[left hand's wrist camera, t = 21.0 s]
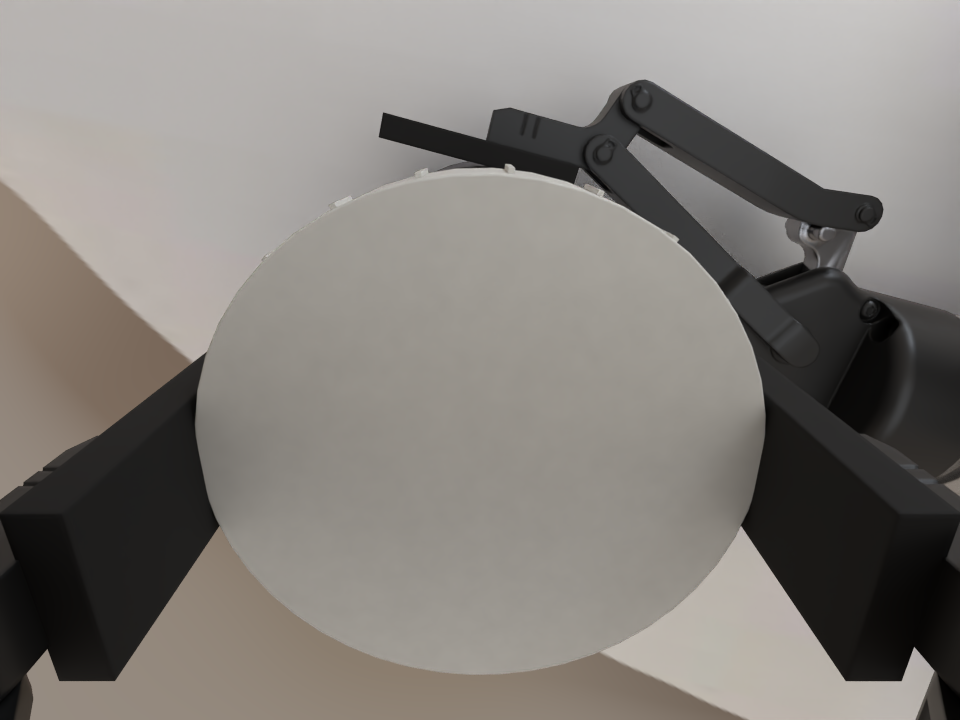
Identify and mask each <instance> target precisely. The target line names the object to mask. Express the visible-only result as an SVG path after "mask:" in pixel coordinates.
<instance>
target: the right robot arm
mask: <svg viewBox="0 0 960 720" xmlns="http://www.w3.org/2000/svg"><path fill="white" fill-rule="evenodd" d="M636 134H637V135H638V136H640V137H642V138H643V139H645V140H647V141H648V142H650V143H652V144H653V145H655V146H657V147H658V148H660V149H662V150H663V151H665V152H667V153H668V154H670V155H672V156H673V157H675V158H677V159H678V160H680V161H682V162H683V163H685V164H687V165H688V166H690V167H692V168H693V169H695V170H697V171H698V172H700V173H702V174H703V175H705V176H707V177H708V178H710V179H712V180H713V181H715V182H717V183H718V184H720V185H722V186H723V187H725V188H727V189H728V190H730V191H732V192H733V193H735V194H737V195H738V196H740V197H742V198H743V199H745V200H747V201H748V202H750V203H752V204H753V205H755V206H757V207H759V208H761V209H763V210H765V211H766V212H769V213H772V214H775V215H778V216H781V217H785V218H789V219H788V220H787V221H786V223H785V228H786V233H787V236H788V238H789V239H790V240H791V241H793V242H795V243H797V244H799V245H800V246H801V247H802V248H803V250H804V254H805V258H804V262H801V263H798V264H795V265H792V266H789V267H787V268H784V269H781V270H779V271H776V272H773V273H770V274H768V275H765V276H762V277H759V278H757V279H755V278H754V277H753V276H752V275H751V274H750V273H749V272H748V271H747V270H745V269H744V268H743V267H741V266H740V265H739V264H738V263H737V262H736V261H735V260H734V259H733V258H732V257H731V256H730V255H729V254H728V253H727V252H726V251H725V250H724V249H723V248H722V247H721V246H720V245H719V244H718V243H717V242H716V241H715V240H714V239H713V238H712V237H711V236H710V235H709V233H708V232H707V231H706V230H705V229H704V228H703V227H702V226H701V225H700V224H699V223H698V222H697V221H696V220H695V219H694V218H693V217H692V216H691V215H690V214H689V213H688V212H687V211H686V210H685V209H684V208H683V207H682V206H681V205H680V204H679V203H678V202H677V201H676V199H675V198H674V197H673V196H672V195H671V194H670V193H669V192H668V191H667V190H666V189H665V188H664V187H663V186H662V185H661V184H660V183H659V182H658V181H657V180H656V179H655V178H654V177H653V176H652V175H651V174H650V173H649V172H648V171H647V170H646V169H645V168H644V166H643V165H642V164H641V163H640V162H639V161H638V160H637V159H636V158H635V157H634V156H633V155H632V154H631V153H630V152H629V151H628V150H627V149H626V148H627V146H628V145H629V144H630V142H631V141H632V139H633V138H634V137H635V135H636ZM379 137H380V138H384V139H387V140H391V141H395V142H399V143H402V144H406V145H410V146H413V147H417V148H421V149H425V150H428V151H432V152H436V153H440V154H443V155H447V156H451V157H454V158H458V159H462V160H466V161H469V162H473V163H477V164H481V165H484V166H488V167H492V168H500V169H505V164H511V165H512V166H514V167H515V170H516V171H525V172H532V173H536V174H540V175H543V176H547V177H551V178H555V179H559V180H562V181H566V182H569V183H571V184H574V182H575V179H576V175H577V172H578V169H579V167H580V168H582V169H583V170H584V171H585V172H586V173H587V174H588V175H589V176H590V177H591V178H592V179H593V180H594V181H595V182H596V183H597V184H598V185H599V186H600V187H601V188H602V189H603V190H604V191H605V192H606V193H607V194H608V195H609V196H610V197H611V198H612V199H613V200H614V201H615V202H616V203H617V204H619V205H622V206H624V207H625V208H627V209H629V210H630V211H632V212H634V213H635V214H637V215H639V216H640V217H642V218H644V219H645V220H647V221H649V222H650V223H652V224H654V225H655V226H657V227H659V228H660V229H662V230H664V231H666V232H668V233H670V234H672V235H675V236H676V237H677V238H678V239H679V240H678V242H677V243H678V244H679V245H681V246H682V247H683V248H684V249H685V250H687V251H688V252H689V253H690V254H691V255H692V256H693V257H694V258H695V259H696V260H697V261H698V263H699V264H700V265H701V266H702V267H703V268H704V269H705V270H706V271H707V273H708V274H709V275H710V276H711V277H712V278H713V279H714V280H715V281H716V283H717V284H718V286H719V287H720V289H721V290H722V292H723V293H724V295H725V296H726V298H727V299H728V300H729V302H730V304H731V305H732V307H733V308H734V310H735V311H736V313H737V315H738V317H739V319H740V321H741V323H742V326H743V328H744V330H745V332H746V334H747V337H748V339H749V341H750V343H751V345H752V348H753V352H755V353H756V354H757V355H758V356H760V357H761V358H762V359H764V360H765V361H766V362H767V363H769V364H770V365H771V366H773V367H774V368H775V369H776V370H778V371H779V372H780V373H782V374H783V375H784V376H785V377H787V378H788V379H789V380H791V381H792V382H793V383H794V384H796V385H797V386H798V387H800V388H801V389H802V390H803V391H805V392H806V393H807V394H809V395H810V396H811V397H812V398H814V399H815V400H816V401H818V402H819V403H820V404H821V405H823V406H824V407H825V408H827V409H828V410H829V411H830V412H832V413H833V414H834V415H836V416H837V417H838V418H839V419H841V420H842V421H843V422H845V423H846V424H847V425H848V426H850V427H851V428H852V429H854V430H855V431H856V432H857V433H859V434H866V435H868V436H870V437H872V438H874V439H876V440H878V441H881V442H883V443H885V444H887V445H889V446H891V447H893V448H895V449H897V450H898V451H900V452H901V453H902V454H904V455H905V456H906V457H908V458H909V459H910V460H912V461H913V462H914V463H916V464H917V465H918V466H919V469H924V470H925V471H926V472H928V473H929V474H930V475H932V476H933V477H934V478H936V479H937V480H938V484H944V485H945V486H947V487H948V488H949V489H951V490H952V491H953V492H955V493H956V494H957V495H959V496H960V315H953V314H951V313H949V312H947V311H944V310H941V309H937V308H933V307H930V306H926V305H922V304H918V303H915V302H911V301H907V300H903V299H900V298H896V297H892V296H888V295H884V294H881V293H877V292H873V291H869V290H866V289H862V288H859V287H857V286H856V285H855V284H854V283H853V282H852V281H851V279H850V278H849V277H848V276H847V275H846V274H845V273H844V272H842V271H843V268H844V265H845V262H846V260H847V257H848V254H849V252H850V249H851V246H852V244H853V241H854V238H855V236H856V233H857V232H865V231H868V230H870V229H872V228H873V227H874V226H876V225H877V224H878V222H879V221H880V219H881V217H882V214H883V206H882V203H881V201H880V200H879V199H878V198H876V197H873V196H869V195H863V194H856V193H849V192H842V191H836V190H829V189H823V188H822V187H820V186H819V185H817V184H815V183H814V182H812V181H811V180H809V179H807V178H806V177H804V176H802V175H801V174H799V173H798V172H796V171H794V170H793V169H791V168H790V167H788V166H786V165H785V164H783V163H782V162H780V161H778V160H777V159H775V158H774V157H772V156H770V155H769V154H767V153H766V152H764V151H762V150H761V149H759V148H757V147H756V146H754V145H753V144H751V143H749V142H748V141H746V140H745V139H743V138H741V137H740V136H738V135H737V134H735V133H733V132H732V131H730V130H729V129H727V128H725V127H724V126H722V125H720V124H719V123H717V122H716V121H714V120H712V119H711V118H709V117H708V116H706V115H704V114H703V113H701V112H700V111H698V110H696V109H695V108H693V107H692V106H690V105H688V104H687V103H685V102H684V101H682V100H680V99H679V98H677V97H675V96H674V95H672V94H671V93H669V92H667V91H666V90H664V89H663V88H661V87H659V86H658V85H656V84H655V83H653V82H651V81H648V80H638V81H635V82H633V83H630V84H627V85H625V86H622V87H620V88H618V89H616V90H614V91H613V93H612V94H611V95H610V96H609V99H608V102H607V104H606V105H605V107H604V108H603V109H602V111H601V112H600V114H599V115H598V117H597V118H596V119H595V120H594V121H593V122H592V123H591V124H590V125H588V126H586V127H577V126H574V125H570V124H567V123H563V122H559V121H556V120H552V119H549V118H545V117H542V116H538V115H534V114H531V113H527V112H524V111H520V110H516V109H513V108H505V109H498V110H494V111H493V113H492V118H491V122H490V126H489V130H488V134H487V138H486V140H482V139H479V138H475V137H471V136H468V135H464V134H460V133H457V132H453V131H449V130H446V129H442V128H438V127H435V126H431V125H427V124H424V123H420V122H416V121H413V120H409V119H405V118H402V117H398V116H394V115H391V114H387V113H383V116H382V122H381V128H380V133H379Z"/></svg>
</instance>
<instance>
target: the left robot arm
mask: <svg viewBox="0 0 960 720" xmlns="http://www.w3.org/2000/svg"><path fill="white" fill-rule="evenodd" d="M206 353H207V352H206ZM206 353H205V354H204V355H202V356H201V357H200V358H198V359H197V360H196V361H195V362H193V363H192V364H191V365H189V366H188V367H187V368H186V369H184V370H183V371H182V372H180V373H179V374H178V375H177V376H175V377H174V378H173V379H171V380H170V381H169V382H168V383H166V384H165V385H164V386H162V387H161V388H160V389H159V390H157V391H156V392H155V393H153V394H152V395H151V396H150V397H148V398H147V399H146V400H144V401H143V402H142V403H141V404H139V405H138V406H137V407H135V408H134V409H133V410H132V411H130V412H129V413H128V414H126V415H125V416H124V417H123V418H121V419H120V420H119V421H117V422H116V423H115V424H114V425H112V426H111V427H110V428H108V429H107V430H106V431H105V432H103V433H102V434H101V435H99V436H96V437H94V438H91V439H89V440H87V441H85V442H83V443H81V444H79V445H77V446H74V447H72V448H70V449H68V450H66V451H65V452H63V453H62V454H61V455H59V456H58V457H57V458H55V459H54V460H53V461H51V462H50V463H49V464H47V465H46V466H45V467H43V471H38V472H37V473H35V474H34V475H33V476H31V477H30V478H29V479H27V480H26V481H25V482H24V485H23V486H18V487H17V488H15V489H14V490H13V491H11V492H10V493H9V494H7V495H6V496H5V497H4V498H2V499H1V500H0V720H30V714H31V709H32V703H33V694H32V688H31V684H30V682H29V679H28V677H27V674H26V673H27V672H28V671H29V670H30V669H31V667H32V666H33V665H34V664H35V663H36V662H37V660H38V659H39V658H40V657H41V656H42V655H43V653H44V652H45V651H46V650H47V649H48V651H49V654H50V657H51V660H52V662H53V665H54V668H55V670H56V673H57V676H58V679H59V681H115V680H116V679H117V677H118V676H119V674H120V673H121V671H122V670H123V668H124V667H125V665H126V664H127V662H128V661H129V659H130V658H131V656H132V655H133V653H134V652H135V650H136V649H137V647H138V646H139V644H140V643H141V641H142V640H143V638H144V637H145V635H146V634H147V633H148V631H149V630H150V628H151V627H152V625H153V624H154V622H155V621H156V619H157V618H158V616H159V615H160V613H161V612H162V610H163V609H164V607H165V606H166V604H167V603H168V601H169V600H170V598H171V597H172V595H173V594H174V592H175V591H176V590H177V588H178V587H179V585H180V584H181V582H182V581H183V579H184V578H185V576H186V575H187V573H188V572H189V570H190V569H191V567H192V566H193V564H194V563H195V561H196V560H197V558H198V557H199V555H200V554H201V552H202V551H203V549H204V548H205V546H206V545H207V544H208V542H209V541H210V539H211V538H212V536H213V535H214V533H215V532H216V530H217V529H218V527H219V526H220V525H219V523H218V522H217V520H216V518H215V515H214V512H213V510H212V507H211V504H210V502H209V498H208V494H207V490H206V485H205V480H204V475H203V470H202V465H201V460H200V456H199V451H198V445H197V439H196V433H195V416H196V403H197V390H198V386H199V381H200V377H201V373H202V369H203V364H204V360H205V356H206ZM754 355H755V359H756V362H757V366H758V369H759V373H760V377H761V380H762V388H763V397H764V405H765V413H766V421H765V438H764V444H763V450H762V455H761V459H760V464H759V469H758V474H757V479H756V484H755V489H754V493H753V497H752V501H751V504H750V507H749V510H748V512H747V514H746V516H745V518H744V520H743V522H742V524H741V526H742V528H743V529H744V531H745V532H746V534H747V535H748V537H749V538H750V540H751V541H752V543H753V544H754V546H755V547H756V549H757V550H758V551H759V553H760V554H761V556H762V557H763V559H764V560H765V562H766V563H767V565H768V566H769V568H770V569H771V571H772V572H773V574H774V575H775V577H776V578H777V580H778V581H779V583H780V584H781V586H782V587H783V589H784V590H785V592H786V593H787V594H788V596H789V597H790V599H791V600H792V602H793V603H794V605H795V606H796V608H797V609H798V611H799V612H800V614H801V615H802V617H803V618H804V620H805V621H806V623H807V624H808V626H809V627H810V629H811V630H812V632H813V633H814V635H815V636H816V637H817V639H818V640H819V642H820V643H821V645H822V646H823V648H824V649H825V651H826V652H827V654H828V655H829V657H830V658H831V660H832V661H833V663H834V664H835V666H836V667H837V669H838V670H839V672H840V673H841V675H842V676H843V678H844V679H845V681H902V678H903V676H904V673H905V670H906V667H907V665H908V662H909V659H910V656H911V654H912V651H913V648H914V647H915V648H916V649H917V650H918V652H919V653H920V654H921V655H922V656H923V657H924V659H925V660H926V661H927V662H928V663H929V664H930V666H931V667H932V668H933V669H934V670H935V672H934V674H933V677H932V679H931V682H930V684H929V687H928V689H927V692H926V695H925V697H924V700H923V702H922V705H921V707H920V710H919V712H918V715H917V718H916V720H960V496H959V495H957V494H956V493H955V492H953V491H952V490H951V489H949V488H948V487H947V486H945V485H944V484H938V480H937V479H936V478H934V477H933V476H932V475H930V474H929V473H928V472H926V471H925V470H924V469H919V466H918V465H917V464H916V463H914V462H913V461H912V460H910V459H909V458H908V457H906V456H905V455H904V454H902V453H901V452H900V451H898V450H897V449H895V448H893V447H891V446H889V445H887V444H885V443H883V442H881V441H878V440H876V439H874V438H872V437H870V436H868V435H866V434H859V433H857V432H856V431H855V430H854V429H852V428H851V427H850V426H848V425H847V424H846V423H845V422H843V421H842V420H841V419H839V418H838V417H837V416H836V415H834V414H833V413H832V412H830V411H829V410H828V409H827V408H825V407H824V406H823V405H821V404H820V403H819V402H818V401H816V400H815V399H814V398H812V397H811V396H810V395H809V394H807V393H806V392H805V391H803V390H802V389H801V388H800V387H798V386H797V385H796V384H794V383H793V382H792V381H791V380H789V379H788V378H787V377H785V376H784V375H783V374H782V373H780V372H779V371H778V370H776V369H775V368H774V367H773V366H771V365H770V364H769V363H767V362H766V361H765V360H764V359H762V358H761V357H760V356H758V355H757V354H756V353H755V352H754Z"/></svg>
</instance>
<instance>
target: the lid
mask: <svg viewBox="0 0 960 720" xmlns="http://www.w3.org/2000/svg"><path fill="white" fill-rule="evenodd" d="M414 175H415V176H412V177H409V178H406V179H403V180H399V181H396V182H393V183H390V184H386V185H383V186H381V187H379V188H377V189H375V190H373V191H370V192H368V193H366V194H364V195H362V196H360V197H358V198H355V199H352V197H351V196H348V197H346V198H343V199H341V200H338V201H336V202H334V203H332V204H330V205H329V207H330V209H331V210H330V211H328V212H326V213H325V214H323V215H322V216H320V217H319V218H317V219H315V220H314V221H312V222H311V223H309V224H308V225H306V226H305V227H303V228H302V229H300V230H299V231H297V232H296V233H294V234H293V235H292V236H290V237H289V238H288V239H287V240H286V241H285V242H284V243H283V244H281V245H280V246H279V247H278V248H277V249H276V250H274V251H273V252H271V253H269V254H267V255H265V256H264V257H263V258H262V263H261V264H260V265H259V266H258V267H257V269H256V270H255V271H254V272H253V273H252V275H251V276H250V277H249V278H248V279H247V281H246V282H245V283H244V284H243V286H242V287H241V288H240V289H239V290H238V292H237V293H236V295H235V297H234V298H233V300H232V302H231V303H230V305H229V307H228V308H227V310H226V312H225V313H224V315H223V317H222V318H221V320H220V322H219V324H218V326H217V329H216V331H215V334H214V336H213V339H212V341H211V344H210V346H209V348H208V351H207V353H206V356H205V360H204V364H203V369H202V373H201V377H200V381H199V386H198V390H197V403H196V416H195V433H196V439H197V445H198V451H199V456H200V460H201V465H202V470H203V475H204V480H205V485H206V490H207V494H208V498H209V502H210V504H211V507H212V510H213V512H214V515H215V518H216V520H217V522H218V523H219V525H220V527H221V529H222V531H223V533H224V534H225V536H226V538H227V540H228V542H229V543H230V545H231V547H232V548H233V550H234V551H235V552H236V554H237V555H238V557H239V558H240V559H241V561H242V562H243V563H244V565H245V566H246V567H247V569H248V570H249V572H250V573H251V574H252V575H253V576H254V577H255V578H256V579H257V580H258V581H259V582H260V583H261V584H262V585H263V587H264V588H265V589H266V590H267V591H268V592H269V593H270V594H271V595H272V596H273V597H275V598H276V599H277V600H278V601H279V602H280V603H282V604H283V605H284V606H285V607H286V608H287V609H289V610H290V611H291V612H292V613H293V614H295V615H296V616H298V617H299V618H301V619H302V620H304V621H305V622H307V623H308V624H310V625H311V626H313V627H314V628H316V629H317V630H319V631H320V632H322V633H324V634H326V635H327V636H329V637H331V638H333V639H335V640H337V641H339V642H341V643H343V644H345V645H347V646H349V647H351V648H354V649H356V650H359V651H361V652H364V653H366V654H369V655H371V656H374V657H376V658H380V659H383V660H386V661H390V662H393V663H397V664H400V665H404V666H407V667H413V668H418V669H424V670H429V671H435V672H443V673H456V674H468V675H479V674H507V673H516V672H525V671H533V670H538V669H542V668H547V667H552V666H556V665H561V664H565V663H568V662H571V661H574V660H577V659H580V658H584V657H587V656H590V655H593V654H595V653H597V652H600V651H602V650H604V649H607V648H609V647H611V646H614V645H616V644H618V643H621V642H622V641H624V640H626V639H628V638H630V637H631V636H633V635H635V634H637V633H638V632H640V631H642V630H644V629H646V628H647V627H649V626H650V625H652V624H653V623H654V622H656V621H657V620H659V619H660V618H661V617H663V616H664V615H666V614H667V613H668V612H670V611H671V610H673V609H674V608H675V607H676V606H677V605H678V604H679V603H680V602H682V601H683V600H684V599H685V598H686V597H687V596H688V595H689V594H690V593H692V592H693V591H694V590H695V589H696V588H697V587H698V586H699V584H700V583H701V582H702V581H703V580H704V579H705V578H706V576H707V575H708V574H709V573H710V572H711V571H712V570H713V569H714V567H715V566H716V565H717V564H718V562H719V561H720V559H721V558H722V556H723V555H724V553H725V552H726V550H727V549H728V547H729V546H730V544H731V543H732V541H733V540H734V538H735V536H736V534H737V532H738V530H739V528H740V526H741V524H742V522H743V520H744V518H745V516H746V514H747V512H748V510H749V507H750V504H751V501H752V497H753V493H754V489H755V484H756V479H757V474H758V469H759V464H760V459H761V455H762V450H763V444H764V438H765V421H766V413H765V405H764V397H763V388H762V380H761V377H760V373H759V369H758V366H757V362H756V359H755V355H754V352H753V348H752V345H751V343H750V341H749V339H748V337H747V334H746V332H745V330H744V328H743V326H742V323H741V321H740V319H739V317H738V315H737V313H736V311H735V310H734V308H733V307H732V305H731V304H730V302H729V300H728V299H727V298H726V296H725V295H724V293H723V292H722V290H721V289H720V287H719V286H718V284H717V283H716V281H715V280H714V279H713V278H712V277H711V276H710V275H709V274H708V273H707V271H706V270H705V269H704V268H703V267H702V266H701V265H700V264H699V263H698V261H697V260H696V259H695V258H694V257H693V256H692V255H691V254H690V253H689V252H688V251H687V250H685V249H684V248H683V247H682V246H681V245H679V244H678V243H677V242H678V240H679V239H678V238H677V237H676V236H675V235H672V234H670V233H668V232H666V231H664V230H662V229H660V228H659V227H657V226H655V225H654V224H652V223H650V222H649V221H647V220H645V219H644V218H642V217H640V216H639V215H637V214H635V213H634V212H632V211H630V210H629V209H627V208H625V207H624V206H622V205H619V204H617V203H615V202H613V201H611V200H609V199H606V198H604V197H603V195H604V193H605V191H602V190H600V189H598V188H595V187H593V186H590V185H588V184H585V186H584V189H583V188H581V187H578V186H576V185H574V184H571V183H569V182H566V181H562V180H559V179H555V178H551V177H547V176H543V175H540V174H536V173H532V172H525V171H516V170H515V167H514V166H512V165H511V164H505V169H500V168H459V169H450V170H444V171H438V172H431V173H429V172H428V168H424V169H421V170H419V171H417V172H415V173H414Z"/></svg>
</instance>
